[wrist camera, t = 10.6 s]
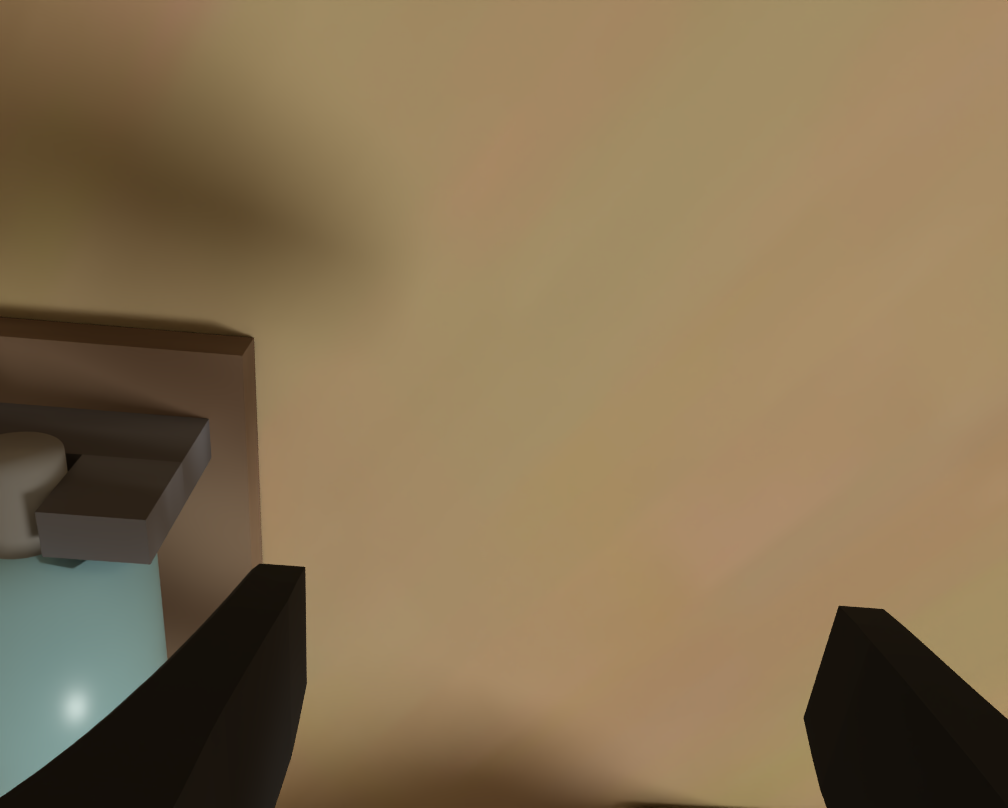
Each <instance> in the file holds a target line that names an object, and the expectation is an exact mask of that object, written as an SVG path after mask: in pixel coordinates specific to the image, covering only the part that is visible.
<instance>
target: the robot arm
mask: <svg viewBox="0 0 1008 808" xmlns="http://www.w3.org/2000/svg"><path fill="white" fill-rule="evenodd" d="M306 685H307V672H306V588H305V567H299V566H285V565H272V564H258V565H257V566H256V567H254V568H253V569H252V570H251V571H250V572H249V573H248V574H247V575H246V576H245V578H244V579H243V580H242V581H241V582H240V583H239V584H238V586H237V587H236V588H235V589H234V590H233V591H232V592H231V594H230V595H229V596H228V597H227V598H226V599H225V600H224V601H223V602H222V604H221V605H220V606H219V607H218V608H217V609H216V610H215V611H214V612H213V613H212V614H211V616H210V617H209V618H208V619H207V620H206V621H205V622H204V623H203V624H202V625H201V626H200V627H199V628H198V629H197V631H196V632H195V633H194V634H193V635H192V636H191V637H190V638H189V639H188V640H187V641H186V642H185V643H184V644H183V645H182V646H181V647H180V648H179V649H178V650H177V651H176V652H175V653H174V654H173V655H172V656H171V657H170V658H169V659H168V660H167V661H166V662H165V663H164V664H163V665H162V666H161V667H160V668H159V669H158V670H157V671H156V672H155V673H154V674H152V675H151V676H150V677H149V678H148V679H147V680H146V681H145V682H144V683H143V684H141V685H140V686H139V687H138V688H137V689H136V690H135V691H134V692H133V693H132V694H130V695H129V696H128V697H127V698H126V699H125V700H124V701H123V702H122V703H121V704H119V705H118V706H117V707H116V708H115V709H114V710H113V711H112V712H111V713H109V714H108V715H107V716H106V717H105V718H104V719H103V720H101V721H100V722H99V723H98V724H97V725H95V726H94V727H93V728H92V729H91V730H89V731H88V732H87V733H86V734H85V735H83V736H82V737H81V738H80V739H78V740H77V741H76V742H75V743H73V744H72V745H71V746H70V747H68V748H67V749H66V750H64V751H63V752H62V753H61V754H59V755H58V756H57V757H55V758H54V759H53V760H51V761H50V762H49V763H48V764H46V765H45V766H44V767H42V768H41V769H40V770H38V771H37V772H36V773H34V774H33V775H31V776H30V777H29V778H27V779H26V780H24V781H23V782H21V783H20V784H19V785H17V786H16V787H14V788H13V789H12V790H10V791H9V792H7V793H6V794H4V795H3V796H2V797H0V808H275V805H276V802H277V799H278V796H279V793H280V790H281V787H282V784H283V781H284V778H285V775H286V771H287V768H288V765H289V762H290V759H291V756H292V752H293V747H294V743H295V738H296V733H297V729H298V724H299V719H300V714H301V709H302V704H303V699H304V694H305V690H306ZM804 722H805V727H806V731H807V736H808V740H809V745H810V749H811V754H812V758H813V762H814V766H815V770H816V774H817V778H818V782H819V786H820V790H821V793H822V796H823V798H824V801H825V804H826V807H827V808H1008V719H1007V718H1006V717H1005V716H1003V715H1002V714H1001V713H1000V712H999V711H998V710H997V709H995V708H994V707H993V706H992V705H991V704H990V703H989V702H988V701H986V700H985V699H984V698H983V697H982V696H981V695H980V694H978V693H977V692H976V691H975V690H974V689H973V688H972V687H971V686H970V685H968V684H967V683H966V682H965V681H964V680H963V679H962V678H961V677H960V676H958V675H957V674H956V673H955V672H954V671H953V670H952V669H951V668H950V667H949V666H947V665H946V664H945V663H944V662H943V661H942V660H941V659H940V658H939V657H938V656H936V655H935V654H934V653H933V652H932V651H931V650H930V649H929V648H928V647H926V646H925V645H924V644H923V643H922V642H921V641H920V640H919V639H918V638H916V637H915V636H914V635H913V634H912V633H911V632H910V631H909V630H907V629H906V628H905V627H904V626H903V625H902V624H901V623H899V622H898V621H897V620H896V619H895V618H894V617H892V616H891V615H890V614H889V613H887V612H886V611H885V610H884V609H875V608H862V607H848V606H839V607H838V610H837V613H836V616H835V620H834V623H833V626H832V629H831V632H830V635H829V639H828V642H827V645H826V648H825V651H824V655H823V658H822V661H821V664H820V667H819V670H818V674H817V677H816V680H815V683H814V686H813V690H812V693H811V696H810V699H809V702H808V705H807V709H806V712H805V715H804Z"/></svg>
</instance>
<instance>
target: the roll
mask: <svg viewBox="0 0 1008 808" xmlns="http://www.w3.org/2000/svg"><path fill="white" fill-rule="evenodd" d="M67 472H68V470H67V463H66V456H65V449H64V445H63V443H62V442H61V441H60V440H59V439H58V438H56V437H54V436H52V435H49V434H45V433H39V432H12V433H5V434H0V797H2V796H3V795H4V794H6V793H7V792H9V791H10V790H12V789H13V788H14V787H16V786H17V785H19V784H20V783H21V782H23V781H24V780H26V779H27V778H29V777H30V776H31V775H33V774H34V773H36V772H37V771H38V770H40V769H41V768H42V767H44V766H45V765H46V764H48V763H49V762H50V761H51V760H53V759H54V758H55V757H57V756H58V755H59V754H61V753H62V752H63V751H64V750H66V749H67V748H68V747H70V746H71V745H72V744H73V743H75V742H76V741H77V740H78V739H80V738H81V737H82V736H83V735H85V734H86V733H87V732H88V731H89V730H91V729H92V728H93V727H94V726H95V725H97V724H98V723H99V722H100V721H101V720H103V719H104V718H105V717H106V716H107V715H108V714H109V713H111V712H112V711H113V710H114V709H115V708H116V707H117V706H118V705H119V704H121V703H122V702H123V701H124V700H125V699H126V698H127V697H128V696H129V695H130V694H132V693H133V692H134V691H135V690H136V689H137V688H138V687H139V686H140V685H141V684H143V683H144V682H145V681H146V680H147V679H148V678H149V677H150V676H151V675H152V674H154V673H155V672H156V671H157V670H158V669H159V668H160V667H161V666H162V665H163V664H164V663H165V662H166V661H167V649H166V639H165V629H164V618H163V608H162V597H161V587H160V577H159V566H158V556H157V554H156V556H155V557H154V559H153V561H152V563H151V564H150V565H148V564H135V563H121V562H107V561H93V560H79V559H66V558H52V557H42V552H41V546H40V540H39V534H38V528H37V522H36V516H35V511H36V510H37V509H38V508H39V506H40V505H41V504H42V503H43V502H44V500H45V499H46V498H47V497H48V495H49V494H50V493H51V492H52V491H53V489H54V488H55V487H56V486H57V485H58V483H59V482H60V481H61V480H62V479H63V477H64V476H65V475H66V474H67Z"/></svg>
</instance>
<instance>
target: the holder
mask: <svg viewBox="0 0 1008 808" xmlns="http://www.w3.org/2000/svg"><path fill="white" fill-rule="evenodd" d="M12 432H39V433H45V434H49V435H52V436H54V437H56V438H58V439H59V440H60V441H61V442H62V443H63V445H64V449H65V456H66V463H67V470H68V472H67V474H66V475H65V476H64V477H63V479H62V480H61V481H60V482H59V483H58V485H57V486H56V487H55V488H54V489H53V491H52V492H51V493H50V494H49V495H48V497H47V498H46V499H45V500H44V502H43V503H42V504H41V505H40V506H39V508H38V509H37V510H36V511H35V516H36V522H37V528H38V534H39V540H40V546H41V552H42V557H52V558H66V559H79V560H93V561H107V562H121V563H135V564H148V565H150V564H151V563H152V561H153V559H154V557H155V556H156V554H157V556H158V566H159V577H160V587H161V597H162V608H163V618H164V629H165V639H166V649H167V660H168V659H169V658H170V657H171V656H172V655H173V654H174V653H175V652H176V651H177V650H178V649H179V648H180V647H181V646H182V645H183V644H184V643H185V642H186V641H187V640H188V639H189V638H190V637H191V636H192V635H193V634H194V633H195V632H196V631H197V629H198V628H199V627H200V626H201V625H202V624H203V623H204V622H205V621H206V620H207V619H208V618H209V617H210V616H211V614H212V613H213V612H214V611H215V610H216V609H217V608H218V607H219V606H220V605H221V604H222V602H223V601H224V600H225V599H226V598H227V597H228V596H229V595H230V594H231V592H232V591H233V590H234V589H235V588H236V587H237V586H238V584H239V583H240V582H241V581H242V580H243V579H244V578H245V576H246V575H247V574H248V573H249V572H250V571H251V570H252V569H253V568H254V567H256V566H257V565H258V564H262V540H261V513H260V487H259V460H258V433H257V407H256V380H255V353H254V338H251V337H238V336H226V335H214V334H201V333H189V332H177V331H165V330H152V329H140V328H128V327H115V326H103V325H91V324H78V323H66V322H54V321H42V320H29V319H17V318H5V317H0V434H5V433H12Z"/></svg>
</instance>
